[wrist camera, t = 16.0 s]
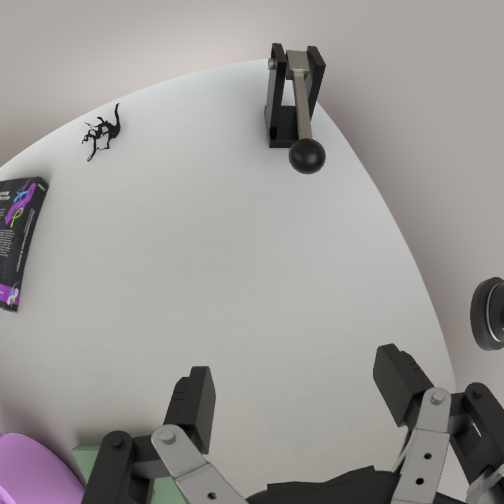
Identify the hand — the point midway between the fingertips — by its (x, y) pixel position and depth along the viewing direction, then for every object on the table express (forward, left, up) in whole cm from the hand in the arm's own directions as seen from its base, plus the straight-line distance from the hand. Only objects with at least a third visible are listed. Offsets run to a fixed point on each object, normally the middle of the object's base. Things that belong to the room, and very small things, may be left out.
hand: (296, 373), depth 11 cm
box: (+34, -24, -15) cm, 44 cm away
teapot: (+37, +12, -15) cm, 41 cm away
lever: (-11, -22, -7) cm, 25 cm away
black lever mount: (-12, -26, -15) cm, 32 cm away
